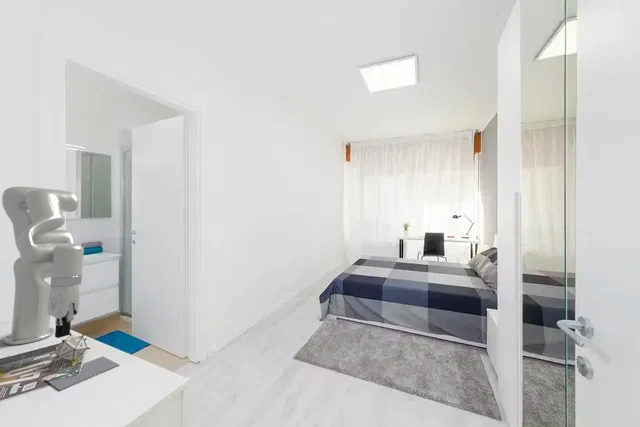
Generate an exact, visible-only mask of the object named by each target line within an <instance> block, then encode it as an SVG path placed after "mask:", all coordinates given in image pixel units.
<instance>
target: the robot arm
mask: <svg viewBox="0 0 640 427" xmlns="http://www.w3.org/2000/svg"><path fill="white" fill-rule="evenodd" d="M1 202H2V203H1V204H2V207H3V210H4V212H5V214H6V215H7V217H8V219H9V220H10V221H11V223H12V229H13V235H14V236H13V237H14V241H15V245H16V249H17V251H18V252H19V257H18V258H16V259H15V261H14V263H13V267H12V268H13V274H14V283H15V285H14V288H15V290H14V300H13V301H14V302H13V310H12V311H13V314H12V325H11V334H9V335H8V336H6V337H4V341H3V342H4V344H5V345H10V346H11V345H22V344H29V343H33V342H37V341H41V340H44V339H46V338H49V337H51V336H52V335H54V337H55V338H56V339H60V338H63V337H66V336H70V335H69V334H70V333H71V326H72V325H71V323H72V321H74V320H75V317H74V316H76V315H77V314H79V311H80V286H81V285H82V278H83V266H84V263H83V261H84V253H85V252H84V251H85V249H84V246H83V245H79V244H76V243H75V239H74V237H73V234H72V233H71V232H70V231H69V230H67V229H60V228H61V227H63V226H64V224H65V222H66V219H65V216H64V213H63V212H66V213H70V212H71V213H72V212H75V211H76V210H77V209H78V207H79V198H78V197H77V195H76V194H75V193H74V192H72V191H68V190H67V191H66V190H63V189H62V190H60V189H52V188H41V187H34V186H33V187H31V186H12V187H7V188H6V189H4V191H3V193H2V198H1ZM47 278H50V284H49V282H47V281H45V279H47ZM51 317H53V318H55V328H53V327H50V323H51V322H50V321H51Z"/></svg>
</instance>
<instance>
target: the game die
mask: <svg viewBox="0 0 640 427" xmlns="http://www.w3.org/2000/svg"><path fill="white" fill-rule="evenodd" d="M84 337H85V334H83V335H81V336H80V335H79V336H78V335H73V334H72V333H71V332H70V334H69V335H68V337H67V338H66V339H61V342H60V343H59V344H58V345H56V346H51V349H54V350H55V355H56V356H54V358H53V359H54V360H57V359H58V360H61V361H68V362H72V361H75V360H76V359H77V358H78V357H80V356H81V355H80V354H83V353H84V352H85V351H87V350H90V349H91V348H90V347H88V346H87V343H86V340H87V339H88V338H84ZM79 355H80V356H79Z"/></svg>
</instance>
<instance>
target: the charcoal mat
mask: <svg viewBox="0 0 640 427" xmlns="http://www.w3.org/2000/svg"><path fill="white" fill-rule="evenodd" d="M82 364H83V366H82V368H81V371H80V374H77V375H76V376H75V377H74V376H73V377H72V378H67V379H61V380H60V379H59V380H54V381H50V382H49V383H50V384H49V383H48V384H49V385H50V386H52V387H53V388H55V389H56V390H58V391H59V392H61V391H63V390H66V389H68V388H70V387H73V386H75V385H77V384H80V383H82V382H84V381H87V380H88V378H89V379H91V378H94V377H96V376H98V374H99V375H101V374H103V373H105V371H106V372H108V371H110V370H112V368H113V369H114V367H115V368H118V367H119V366H120V364H119V363H117V362H115V361H113V360H111V359H109V358H107V357H106V356H100V357H97V358H95V359H92V360H89V361H87V362H85V363H84V362H83V363H82ZM107 370H108V371H107ZM100 373H101V374H100ZM95 375H96V376H95ZM93 376H94V377H93ZM90 377H91V378H90ZM86 379H87V380H86ZM83 380H84V381H83ZM81 381H82V382H81ZM79 382H80V383H79ZM76 383H77V384H76ZM74 384H75V385H74ZM72 385H73V386H72Z"/></svg>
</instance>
